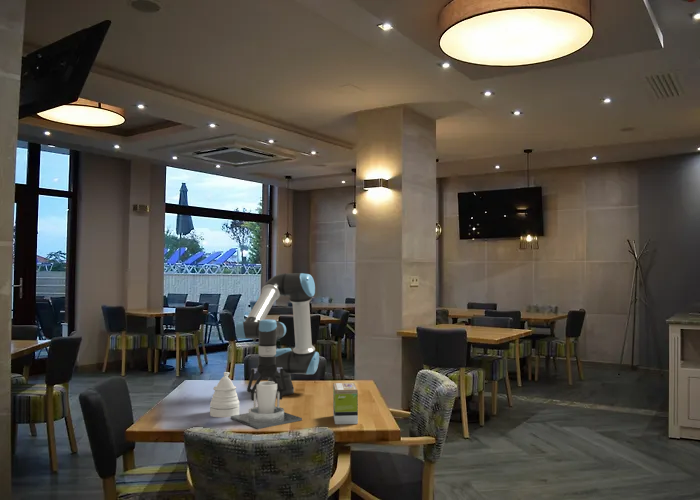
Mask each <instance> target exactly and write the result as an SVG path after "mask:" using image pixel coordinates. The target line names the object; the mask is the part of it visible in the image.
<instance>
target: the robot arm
mask: <svg viewBox="0 0 700 500" xmlns="http://www.w3.org/2000/svg"><path fill="white" fill-rule="evenodd" d="M260 291H261V293H260V295H259V297H258V299H257V301H256V302H255V304H254V305H253V307H252V308H251V310H250V312H249V314H248V316H247V317H246V319H245V320H244V321H239V322H237V323H236V326H235V334H236V337H238V339H239V338H241V339H245V340H246V339H258V359H257V360H258V361H257V363H258V365H257V367H256V368H255V367H252V368H251V369H250V370H251V371H250V372H251V374H250V377H249V380H248V384H247V387H246V391H247V393H250V400H251V402H252V401H253V408H254V409H256V407H257V406H256V405H257V404H256V403H257V392H256V384H259V382H262V381H261V380H262V379H263V378H268V379H267V381H271V382H275V384H277V388H278V389H277V395H276V399H277V401H276V402H277V403H276V405H277V406H276V407H278V408H279V407H280V400H281V401H282V399H283V396H289V395H293V394H294V393H295V388H294V384H293V382H292V381H293V380H292V376H291V375H294V374H296V375H314V374H316V372H317V370H318V367H319V363H320V354H319V352H318V351H316V348H315V346H314V345H313V343H312V328H311V327H312V326H311V325H312V324H311V312H310V310H311V308H310V302H311V301H312V299H313V298H312V297H314V296H315V294H316V284H315V280H314V277H313V276H312V275H311V274H309V273H303V272H301V273H296V272H295V273H278V274H277V275H274V276H273V277H271V278H269V279H268V280H267V281H266V282H265V283H264V285H263V286H262V288H261V290H260ZM280 297H288V301H290V303H291V304H292V315H293V317H292V318H293V329H294V343H295V345H294V348H291V347H284V348H282V347H281V348H277V340H280V339H281V338H283V337H284V336H285V335H286V333H287V327H286V325H285V323H283V322H281V321H277V320H276V319H266V318H267V316H268V314H269V312H270V311H271V308H272V306H273V305H274V304H275V301H277V300H279V298H280ZM256 373H258V374H259V375H258V377H257V378H256V381H255V383H254V385H253V380H254V378H255V374H256ZM252 385H253V386H252Z"/></svg>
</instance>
